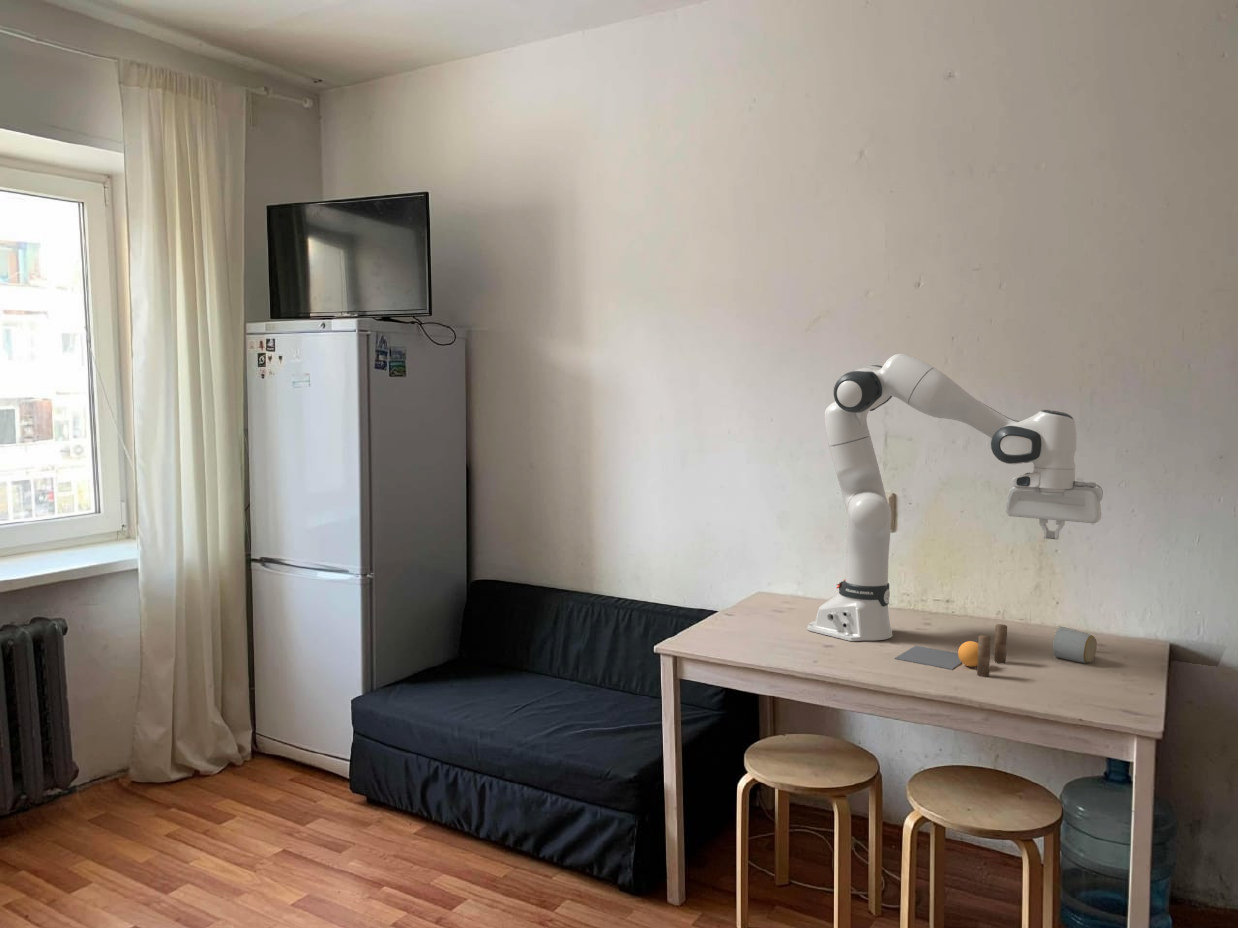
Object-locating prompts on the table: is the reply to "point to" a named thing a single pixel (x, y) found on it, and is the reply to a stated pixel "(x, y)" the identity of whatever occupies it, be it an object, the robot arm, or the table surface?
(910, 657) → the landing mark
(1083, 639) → the grey cylinder
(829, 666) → the table surface
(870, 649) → the table surface
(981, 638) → the post near
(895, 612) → the table surface
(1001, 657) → the post far
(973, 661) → the ball
